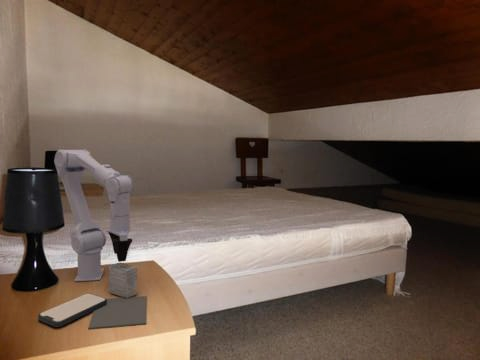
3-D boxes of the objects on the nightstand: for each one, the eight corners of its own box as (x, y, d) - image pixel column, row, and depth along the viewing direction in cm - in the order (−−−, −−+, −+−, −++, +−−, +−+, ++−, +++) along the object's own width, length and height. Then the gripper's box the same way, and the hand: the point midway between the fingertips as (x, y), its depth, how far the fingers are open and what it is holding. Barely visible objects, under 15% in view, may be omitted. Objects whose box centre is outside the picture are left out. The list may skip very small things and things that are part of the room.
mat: (97, 300, 104) (97, 299, 104) (146, 297, 108) (146, 295, 108) (88, 329, 89) (88, 327, 89) (146, 324, 92) (146, 322, 92)
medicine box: (137, 294, 109) (138, 266, 108) (126, 299, 105) (126, 270, 104) (120, 288, 113) (120, 262, 112) (108, 293, 109) (108, 265, 108)
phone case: (88, 297, 106) (35, 320, 92) (88, 292, 106) (35, 314, 92) (109, 304, 102) (57, 329, 88) (109, 298, 101) (57, 323, 87)
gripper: (103, 210, 115) (103, 251, 116) (109, 220, 102) (109, 266, 103) (126, 209, 118) (125, 249, 119) (134, 219, 105) (134, 263, 107)
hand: (119, 257), depth 112 cm, fingers open, 7 cm apart
